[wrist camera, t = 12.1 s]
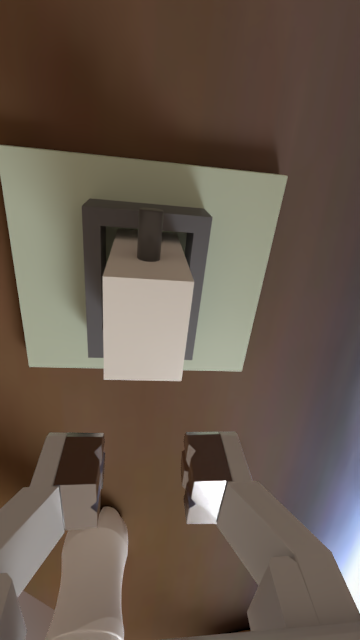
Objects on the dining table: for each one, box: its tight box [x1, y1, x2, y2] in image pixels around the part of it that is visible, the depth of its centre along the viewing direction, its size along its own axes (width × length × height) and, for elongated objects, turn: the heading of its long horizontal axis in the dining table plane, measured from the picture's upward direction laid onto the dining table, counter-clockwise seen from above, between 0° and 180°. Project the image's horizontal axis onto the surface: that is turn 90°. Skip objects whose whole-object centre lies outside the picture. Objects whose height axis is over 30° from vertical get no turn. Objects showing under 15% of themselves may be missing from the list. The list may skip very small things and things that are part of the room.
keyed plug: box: [102, 208, 194, 381], centre depth 19 cm, size 4×9×9 cm, turn 174°
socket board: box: [0, 145, 288, 371], centre depth 23 cm, size 18×16×4 cm
